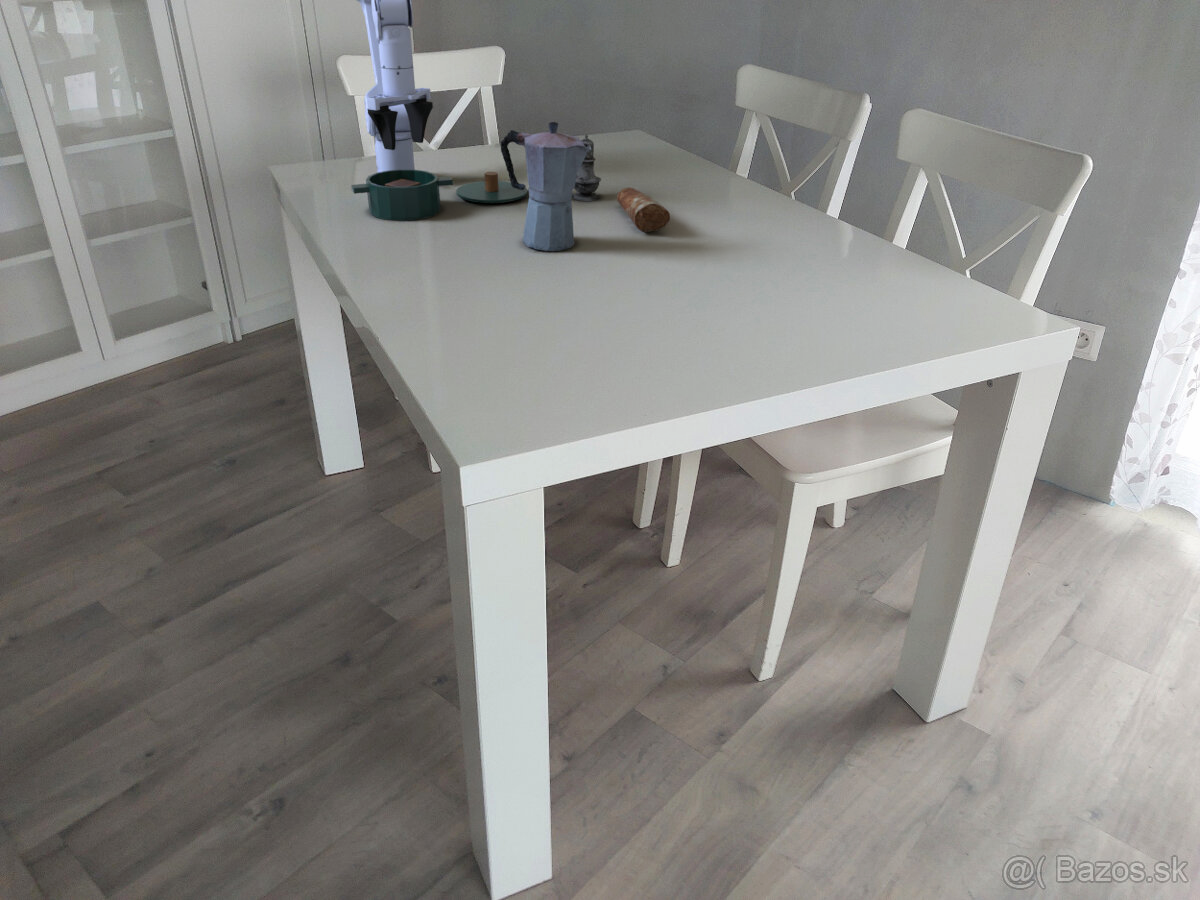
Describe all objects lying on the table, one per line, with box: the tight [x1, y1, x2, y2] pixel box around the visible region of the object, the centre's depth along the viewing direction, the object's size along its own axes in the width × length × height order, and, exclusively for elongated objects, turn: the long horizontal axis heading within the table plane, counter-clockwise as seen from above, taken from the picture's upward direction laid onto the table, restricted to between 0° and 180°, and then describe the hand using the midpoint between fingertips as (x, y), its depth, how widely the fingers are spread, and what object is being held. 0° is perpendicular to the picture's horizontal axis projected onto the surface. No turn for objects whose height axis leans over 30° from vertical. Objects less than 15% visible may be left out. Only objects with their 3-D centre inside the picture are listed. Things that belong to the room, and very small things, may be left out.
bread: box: [616, 187, 671, 233], centre depth 170 cm, size 6×19×6 cm, turn 11°
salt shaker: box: [571, 133, 602, 202], centre depth 180 cm, size 6×6×12 cm
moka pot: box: [500, 121, 592, 252], centre depth 153 cm, size 10×15×20 cm, turn 78°
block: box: [385, 179, 421, 187], centre depth 172 cm, size 5×5×5 cm
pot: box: [351, 169, 454, 222], centre depth 172 cm, size 13×18×6 cm
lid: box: [455, 171, 528, 204], centre depth 182 cm, size 14×14×4 cm
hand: (404, 145), depth 173 cm, fingers open, 7 cm apart
